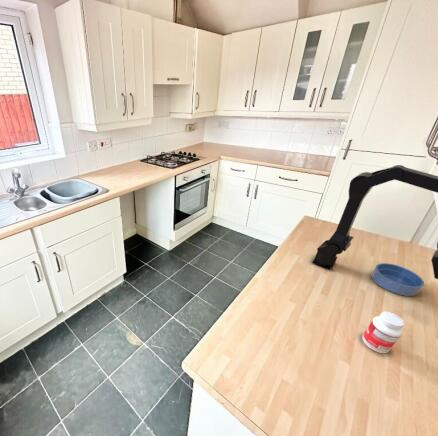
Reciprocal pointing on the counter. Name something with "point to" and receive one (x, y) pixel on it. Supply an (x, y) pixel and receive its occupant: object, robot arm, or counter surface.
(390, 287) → the bowl
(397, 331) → the pill bottle
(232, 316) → the counter surface
